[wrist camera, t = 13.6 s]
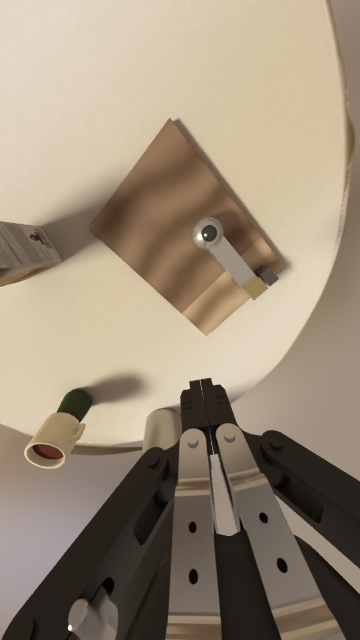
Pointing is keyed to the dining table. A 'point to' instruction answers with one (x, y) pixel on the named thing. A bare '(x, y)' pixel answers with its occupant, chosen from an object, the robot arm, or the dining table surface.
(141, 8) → the dining table surface
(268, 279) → the block
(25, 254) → the coffee box
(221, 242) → the latch bar
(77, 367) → the dining table surface
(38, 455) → the character mug
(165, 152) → the door board
